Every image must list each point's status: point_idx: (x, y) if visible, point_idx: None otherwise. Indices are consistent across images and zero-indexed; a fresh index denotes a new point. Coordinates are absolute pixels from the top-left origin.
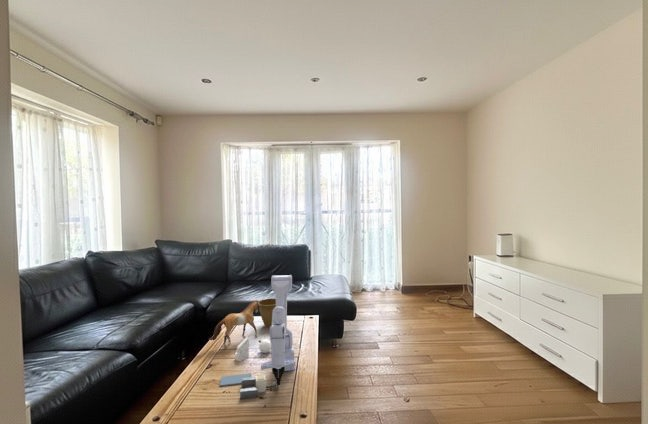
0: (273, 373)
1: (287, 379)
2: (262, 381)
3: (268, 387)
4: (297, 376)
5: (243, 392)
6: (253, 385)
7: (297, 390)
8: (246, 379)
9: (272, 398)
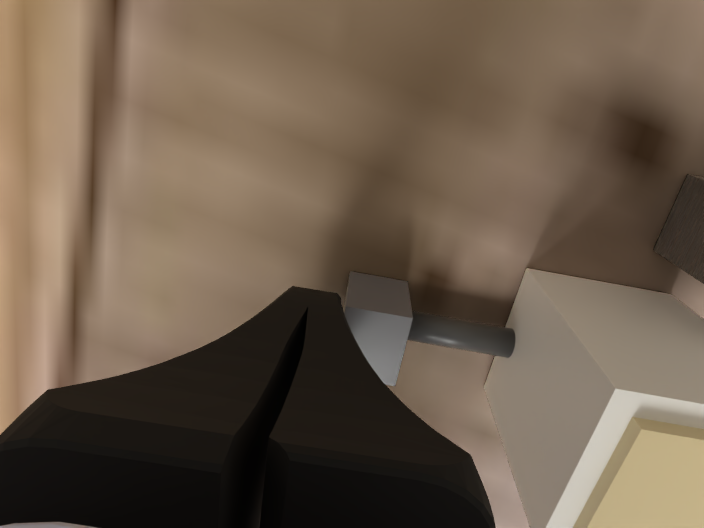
0: (451, 448)
1: None
2: (668, 378)
3: (473, 323)
4: None
5: None
6: None
7: (26, 107)
8: None
9: (479, 36)
